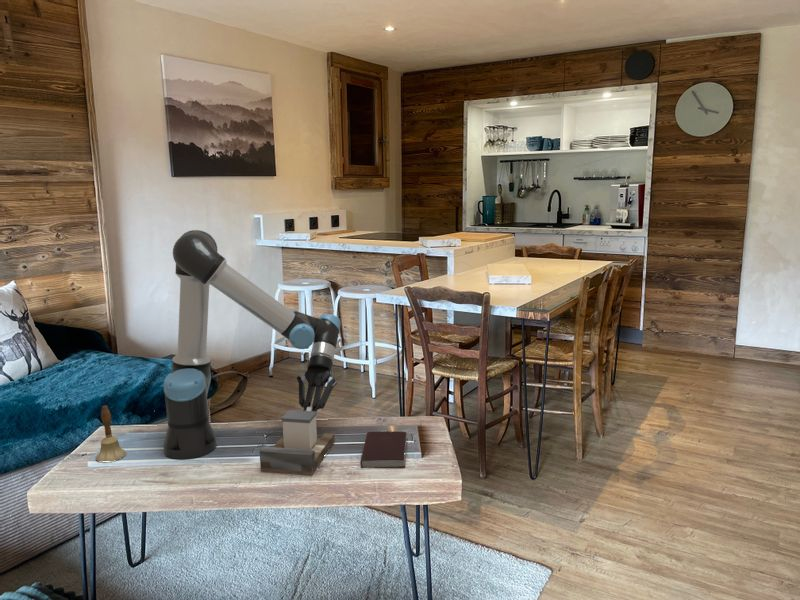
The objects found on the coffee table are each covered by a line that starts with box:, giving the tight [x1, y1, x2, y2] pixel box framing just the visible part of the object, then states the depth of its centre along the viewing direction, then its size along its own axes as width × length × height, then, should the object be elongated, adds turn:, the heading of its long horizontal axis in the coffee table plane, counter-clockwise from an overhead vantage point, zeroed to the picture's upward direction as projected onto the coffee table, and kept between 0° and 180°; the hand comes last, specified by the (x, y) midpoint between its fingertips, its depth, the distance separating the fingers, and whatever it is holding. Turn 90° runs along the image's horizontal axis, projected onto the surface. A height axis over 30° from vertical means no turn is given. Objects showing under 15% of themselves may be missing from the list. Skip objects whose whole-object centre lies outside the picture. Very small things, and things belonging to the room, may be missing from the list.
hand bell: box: [95, 405, 127, 462], centre depth 181 cm, size 8×8×16 cm
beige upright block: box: [280, 409, 318, 450], centre depth 181 cm, size 6×8×11 cm
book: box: [359, 430, 407, 469], centre depth 182 cm, size 12×19×3 cm, turn 177°
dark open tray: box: [259, 432, 335, 476], centre depth 180 cm, size 21×15×6 cm
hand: (306, 428), depth 186 cm, fingers closed
